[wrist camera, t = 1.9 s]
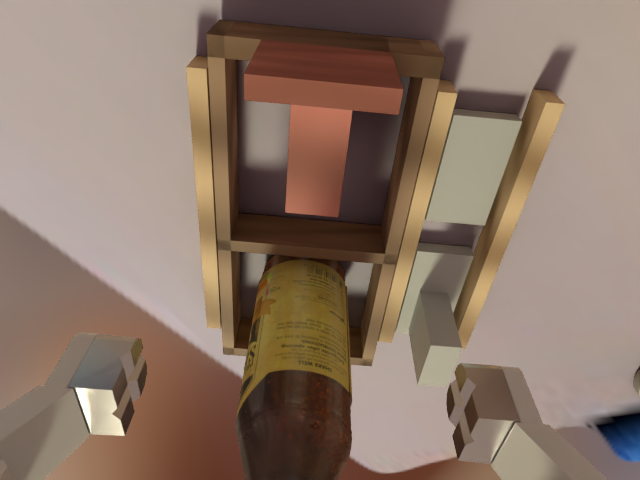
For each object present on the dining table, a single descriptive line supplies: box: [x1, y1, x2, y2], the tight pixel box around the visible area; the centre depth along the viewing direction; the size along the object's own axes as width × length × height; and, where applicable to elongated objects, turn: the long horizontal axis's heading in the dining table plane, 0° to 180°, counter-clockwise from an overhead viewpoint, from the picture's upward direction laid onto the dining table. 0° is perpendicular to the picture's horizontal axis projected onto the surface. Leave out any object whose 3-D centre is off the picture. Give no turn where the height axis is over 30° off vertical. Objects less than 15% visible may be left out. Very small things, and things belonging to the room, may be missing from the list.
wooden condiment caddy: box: [206, 20, 445, 366], centre depth 28 cm, size 22×11×8 cm, turn 175°
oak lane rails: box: [186, 56, 565, 349], centre depth 30 cm, size 19×19×2 cm
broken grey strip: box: [395, 109, 522, 387], centre depth 29 cm, size 18×4×6 cm, turn 175°
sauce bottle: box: [236, 255, 352, 480], centre depth 26 cm, size 6×6×20 cm
